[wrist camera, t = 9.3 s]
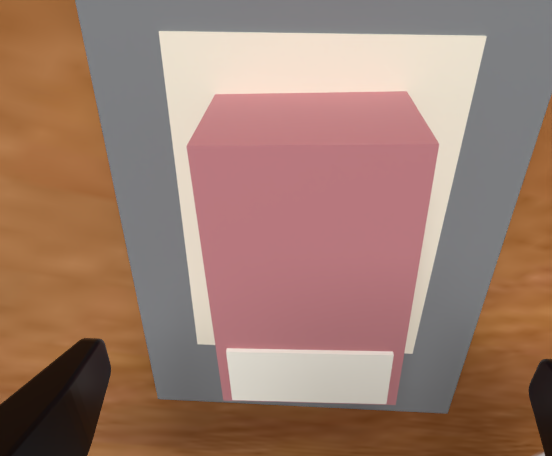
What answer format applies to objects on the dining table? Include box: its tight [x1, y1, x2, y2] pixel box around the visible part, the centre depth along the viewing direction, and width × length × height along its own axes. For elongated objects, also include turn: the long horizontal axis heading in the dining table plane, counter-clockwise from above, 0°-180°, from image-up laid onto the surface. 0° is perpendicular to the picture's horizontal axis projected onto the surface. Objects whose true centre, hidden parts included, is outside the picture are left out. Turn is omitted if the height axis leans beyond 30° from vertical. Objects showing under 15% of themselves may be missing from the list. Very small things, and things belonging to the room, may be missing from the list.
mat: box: [75, 0, 552, 413], centre depth 15 cm, size 18×12×1 cm, turn 0°
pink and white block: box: [186, 91, 439, 405], centre depth 13 cm, size 5×8×4 cm, turn 2°
